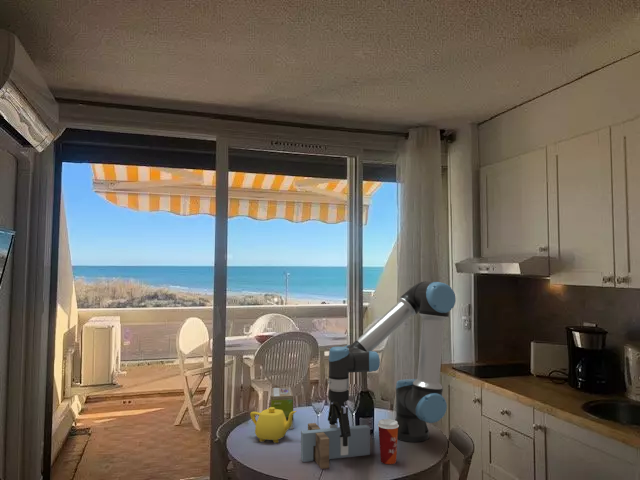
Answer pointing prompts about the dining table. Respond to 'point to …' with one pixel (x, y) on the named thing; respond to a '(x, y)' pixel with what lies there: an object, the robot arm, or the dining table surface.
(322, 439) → the notched walnut block
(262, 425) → the teapot
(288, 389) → the tea box
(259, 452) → the dining table surface
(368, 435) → the slate board
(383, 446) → the paper cup
